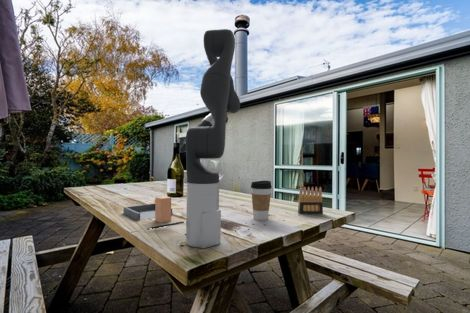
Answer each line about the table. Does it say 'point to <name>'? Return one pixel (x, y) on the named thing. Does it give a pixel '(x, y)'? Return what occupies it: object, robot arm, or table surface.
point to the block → (163, 209)
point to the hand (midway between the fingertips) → (185, 151)
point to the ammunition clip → (310, 201)
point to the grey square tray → (141, 211)
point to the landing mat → (167, 225)
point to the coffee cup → (261, 199)
